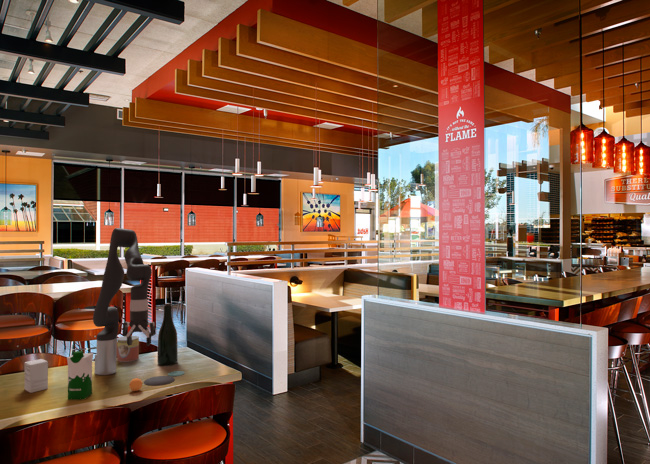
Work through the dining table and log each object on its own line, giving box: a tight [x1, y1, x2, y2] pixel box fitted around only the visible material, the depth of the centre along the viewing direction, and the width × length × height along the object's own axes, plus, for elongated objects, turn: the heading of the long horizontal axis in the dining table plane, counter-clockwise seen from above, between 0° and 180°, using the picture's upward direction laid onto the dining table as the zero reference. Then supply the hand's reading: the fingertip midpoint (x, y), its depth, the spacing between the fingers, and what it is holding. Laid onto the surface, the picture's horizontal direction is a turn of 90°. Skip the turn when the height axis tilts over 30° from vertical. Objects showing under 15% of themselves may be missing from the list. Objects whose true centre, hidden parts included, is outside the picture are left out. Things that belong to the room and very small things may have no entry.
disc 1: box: [143, 375, 176, 387], centre depth 219 cm, size 14×14×1 cm
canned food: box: [117, 335, 140, 363], centre depth 256 cm, size 11×11×12 cm
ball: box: [128, 377, 143, 392], centre depth 205 cm, size 6×6×6 cm
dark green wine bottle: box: [157, 302, 179, 366], centre depth 248 cm, size 10×10×33 cm
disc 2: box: [167, 370, 185, 377], centre depth 230 cm, size 8×8×1 cm
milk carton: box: [66, 350, 94, 400], centre depth 197 cm, size 9×9×20 cm
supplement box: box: [24, 358, 49, 394], centre depth 207 cm, size 7×7×13 cm
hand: (139, 345), depth 203 cm, fingers open, 8 cm apart
